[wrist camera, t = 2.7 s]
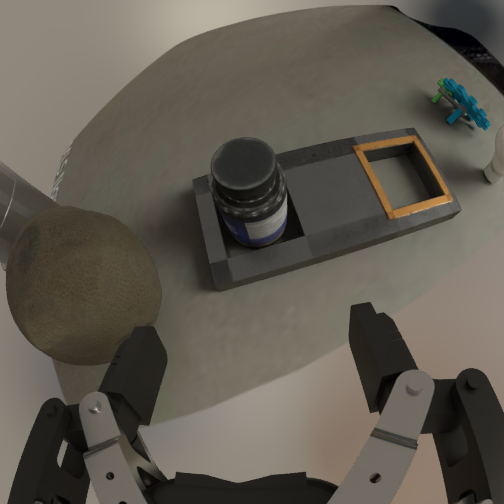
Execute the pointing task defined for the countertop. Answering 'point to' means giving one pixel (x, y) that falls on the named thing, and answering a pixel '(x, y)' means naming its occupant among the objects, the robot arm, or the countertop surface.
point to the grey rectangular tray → (331, 206)
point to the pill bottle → (250, 191)
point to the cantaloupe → (80, 284)
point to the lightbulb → (496, 159)
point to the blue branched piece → (461, 103)
